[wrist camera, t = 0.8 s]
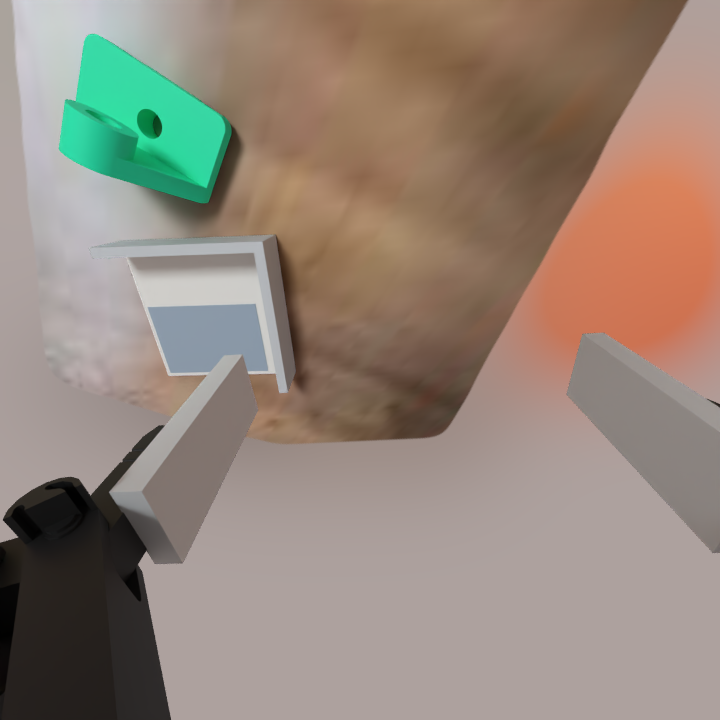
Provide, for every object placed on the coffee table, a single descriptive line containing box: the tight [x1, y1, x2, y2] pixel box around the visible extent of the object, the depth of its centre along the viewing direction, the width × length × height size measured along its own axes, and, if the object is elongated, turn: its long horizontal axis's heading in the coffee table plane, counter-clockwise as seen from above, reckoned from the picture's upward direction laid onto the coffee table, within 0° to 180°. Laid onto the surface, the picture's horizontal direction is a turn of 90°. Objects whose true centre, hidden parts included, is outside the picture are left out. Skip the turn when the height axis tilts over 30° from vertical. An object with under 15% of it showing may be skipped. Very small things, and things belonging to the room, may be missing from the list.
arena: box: [88, 235, 296, 393], centre depth 37 cm, size 17×17×5 cm
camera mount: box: [59, 34, 232, 203], centre depth 27 cm, size 12×8×10 cm, turn 59°
